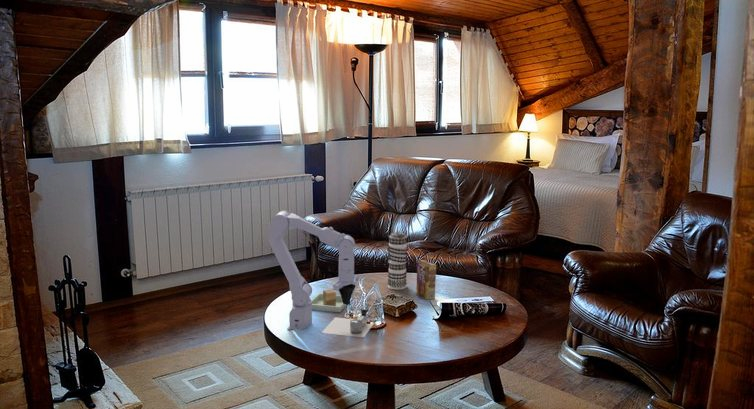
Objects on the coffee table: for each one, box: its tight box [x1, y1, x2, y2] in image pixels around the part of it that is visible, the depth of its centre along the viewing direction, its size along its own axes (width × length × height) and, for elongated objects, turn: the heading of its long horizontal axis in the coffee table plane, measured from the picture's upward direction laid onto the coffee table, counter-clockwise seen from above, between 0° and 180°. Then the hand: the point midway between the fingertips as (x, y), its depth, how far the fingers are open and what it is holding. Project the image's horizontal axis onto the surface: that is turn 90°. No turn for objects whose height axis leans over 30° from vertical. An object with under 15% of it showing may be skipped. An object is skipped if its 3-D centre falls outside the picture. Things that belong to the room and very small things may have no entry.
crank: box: [350, 308, 369, 334], centre depth 221 cm, size 13×4×5 cm, turn 164°
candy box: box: [415, 259, 437, 301], centre depth 259 cm, size 9×4×15 cm, turn 31°
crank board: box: [321, 317, 374, 339], centre depth 223 cm, size 16×16×1 cm
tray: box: [311, 293, 347, 313], centre depth 246 cm, size 14×14×3 cm
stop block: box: [322, 288, 337, 306], centre depth 246 cm, size 4×4×6 cm
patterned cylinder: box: [387, 231, 409, 291], centre depth 272 cm, size 9×9×25 cm
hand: (346, 303), depth 224 cm, fingers closed
